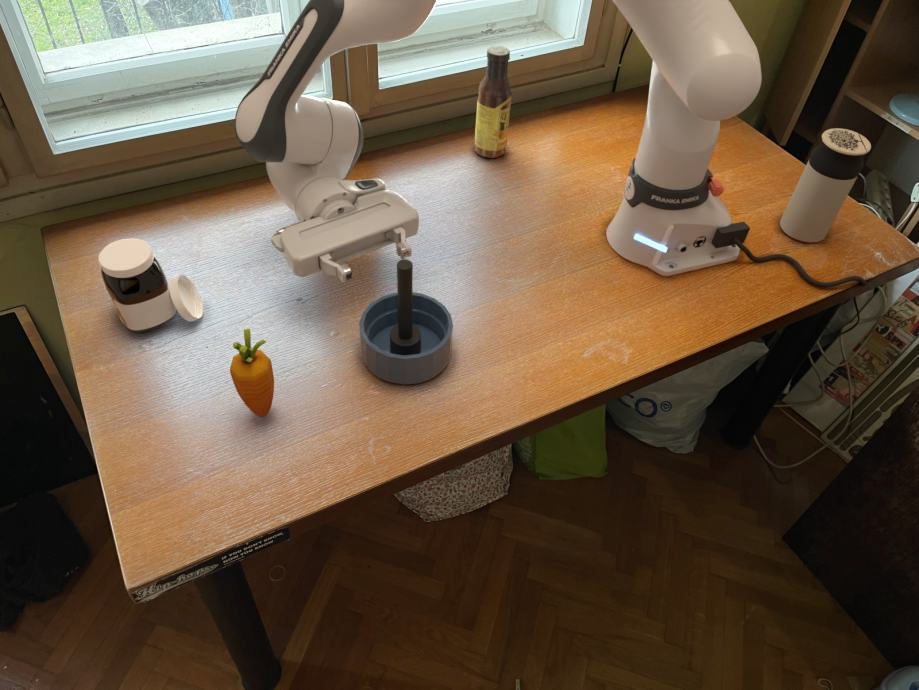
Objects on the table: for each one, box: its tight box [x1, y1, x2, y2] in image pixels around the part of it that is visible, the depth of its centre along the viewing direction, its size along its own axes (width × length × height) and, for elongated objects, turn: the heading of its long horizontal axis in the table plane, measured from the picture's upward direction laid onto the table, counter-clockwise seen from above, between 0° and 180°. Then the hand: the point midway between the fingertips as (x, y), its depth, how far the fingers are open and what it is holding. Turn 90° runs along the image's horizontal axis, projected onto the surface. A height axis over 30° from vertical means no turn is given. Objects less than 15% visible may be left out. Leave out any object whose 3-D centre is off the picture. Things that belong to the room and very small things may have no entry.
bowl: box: [358, 291, 454, 385], centre depth 102 cm, size 13×13×6 cm
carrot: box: [229, 328, 275, 418], centre depth 89 cm, size 5×5×15 cm
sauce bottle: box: [474, 45, 513, 159], centre depth 133 cm, size 7×6×20 cm
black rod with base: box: [390, 258, 421, 355], centre depth 97 cm, size 4×4×16 cm
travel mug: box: [779, 127, 872, 243], centre depth 121 cm, size 8×8×18 cm
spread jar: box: [98, 237, 204, 333], centre depth 102 cm, size 12×11×12 cm
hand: (378, 265), depth 99 cm, fingers open, 8 cm apart
